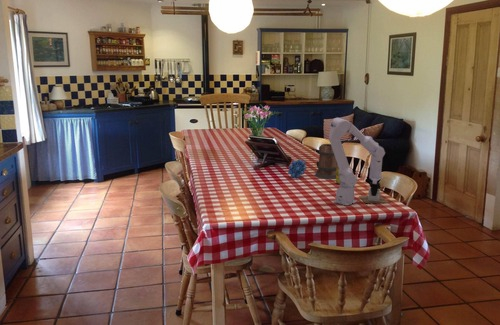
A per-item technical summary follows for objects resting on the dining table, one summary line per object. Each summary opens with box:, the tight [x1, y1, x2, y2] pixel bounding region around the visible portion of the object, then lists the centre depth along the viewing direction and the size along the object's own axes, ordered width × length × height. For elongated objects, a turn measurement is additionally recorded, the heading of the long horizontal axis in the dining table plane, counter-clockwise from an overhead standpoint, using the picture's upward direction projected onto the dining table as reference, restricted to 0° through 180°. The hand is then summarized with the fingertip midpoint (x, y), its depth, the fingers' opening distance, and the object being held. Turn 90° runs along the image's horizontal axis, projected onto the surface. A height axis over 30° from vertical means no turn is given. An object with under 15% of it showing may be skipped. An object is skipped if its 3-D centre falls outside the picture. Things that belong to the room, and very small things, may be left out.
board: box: [358, 195, 390, 204], centre depth 239 cm, size 12×12×4 cm
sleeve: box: [367, 187, 381, 201], centre depth 238 cm, size 6×6×5 cm
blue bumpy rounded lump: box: [287, 158, 308, 179], centre depth 282 cm, size 12×7×12 cm, turn 98°
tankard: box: [314, 143, 338, 180], centre depth 289 cm, size 24×17×20 cm
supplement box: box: [335, 165, 341, 185], centre depth 269 cm, size 6×6×11 cm
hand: (373, 193), depth 238 cm, fingers open, 7 cm apart
